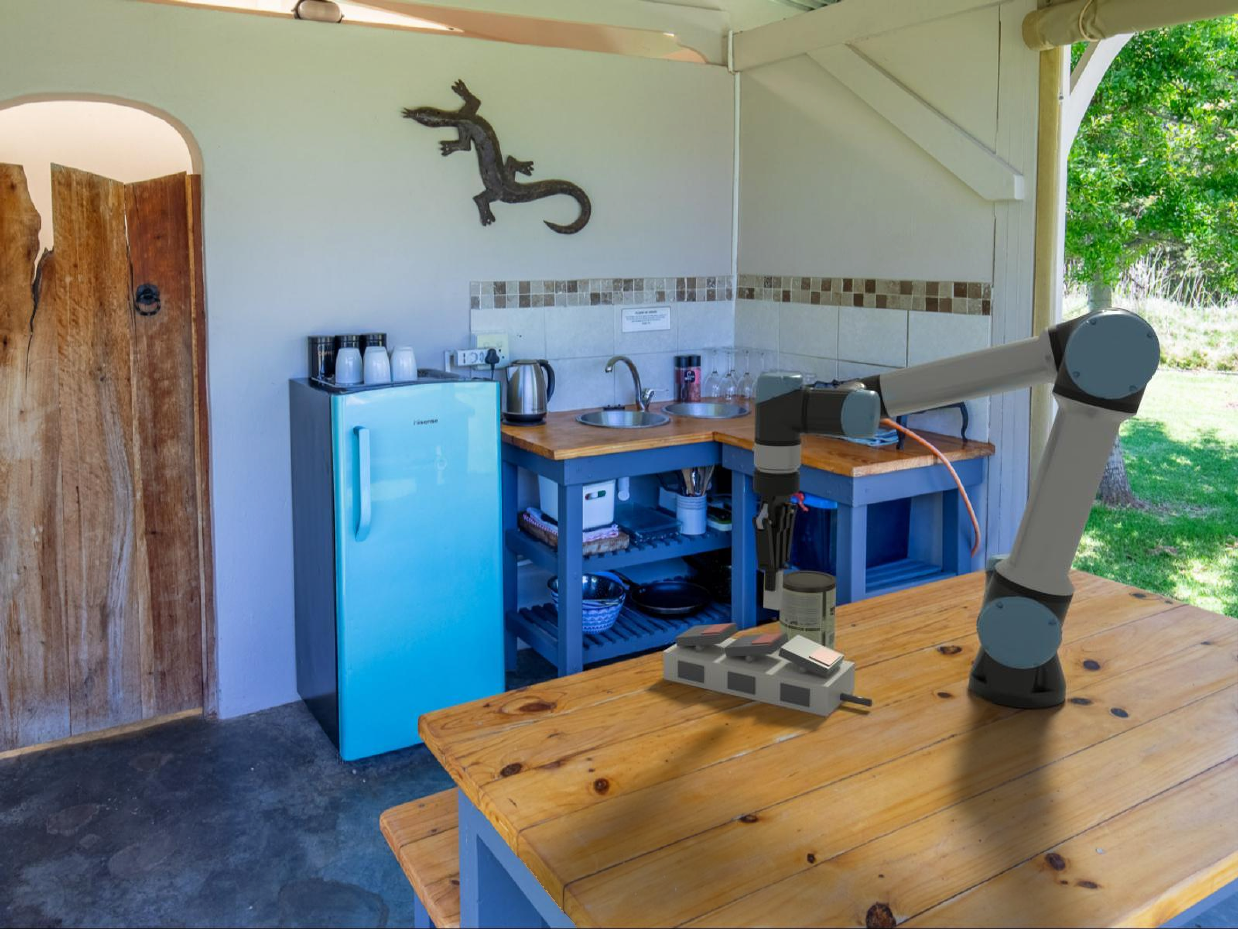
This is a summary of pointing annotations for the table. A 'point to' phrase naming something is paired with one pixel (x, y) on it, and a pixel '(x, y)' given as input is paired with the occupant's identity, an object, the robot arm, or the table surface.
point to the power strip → (761, 678)
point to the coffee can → (809, 606)
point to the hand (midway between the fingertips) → (772, 607)
